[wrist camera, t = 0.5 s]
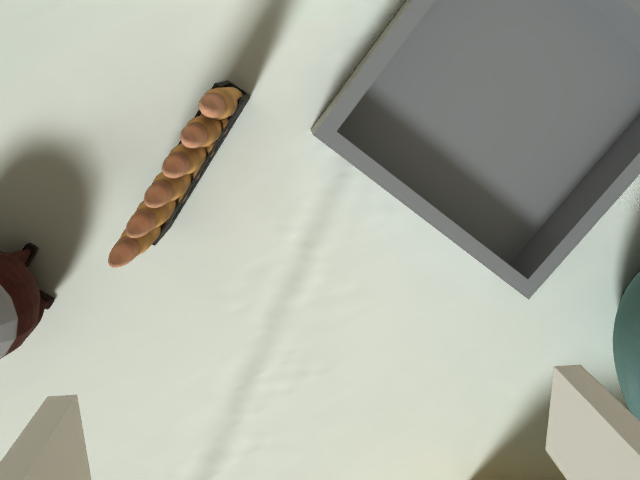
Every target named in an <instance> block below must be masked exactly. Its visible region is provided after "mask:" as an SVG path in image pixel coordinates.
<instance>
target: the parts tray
mask: <svg viewBox="0 0 640 480" xmlns="http://www.w3.org/2000/svg"><path fill="white" fill-rule="evenodd" d="M311 131H312V133H313V135H314V136H315V137H317V138H318V139H319V140H321V141H322V142H323V143H325V144H326V145H327V146H329V147H330V148H331V149H333V150H334V151H335V152H336V153H338V154H339V155H340V156H342V157H343V158H344V159H346V160H347V161H348V162H350V163H351V164H352V165H353V166H355V167H356V168H357V169H359V170H360V171H361V172H363V173H364V174H365V175H367V176H368V177H369V178H370V179H372V180H373V181H374V182H376V183H377V184H378V185H380V186H381V187H382V188H384V189H385V190H386V191H387V192H389V193H390V194H391V195H393V196H394V197H395V198H397V199H398V200H399V201H401V202H402V203H403V204H405V205H406V206H407V207H408V208H410V209H411V210H412V211H414V212H415V213H416V214H418V215H419V216H420V217H422V218H423V219H424V220H425V221H427V222H428V223H429V224H431V225H432V226H433V227H435V228H436V229H437V230H439V231H440V232H441V233H442V234H444V235H445V236H446V237H448V238H449V239H450V240H452V241H453V242H454V243H456V244H457V245H458V246H459V247H461V248H462V249H463V250H465V251H466V252H467V253H469V254H470V255H471V256H473V257H474V258H475V259H477V260H478V261H479V262H480V263H482V264H483V265H484V266H486V267H487V268H488V269H490V270H491V271H492V272H494V273H495V274H496V275H497V276H499V277H500V278H501V279H503V280H504V281H505V282H507V283H508V284H509V285H511V286H512V287H513V288H514V289H516V290H517V291H518V292H520V293H521V294H522V295H524V296H525V297H526V298H528V299H529V298H530V297H531V296H532V295H533V294H534V293H535V292H536V291H537V289H538V288H539V287H540V286H541V285H542V284H543V283H544V282H545V280H546V279H547V278H548V277H549V276H550V275H551V274H552V272H553V271H554V270H555V269H556V268H557V267H558V266H559V265H560V263H561V262H562V261H563V260H564V259H565V258H566V257H567V256H568V254H569V253H570V252H571V251H572V250H573V249H574V248H575V247H576V245H577V244H578V243H579V242H580V241H581V240H582V239H583V238H584V236H585V235H586V234H587V233H588V232H589V231H590V230H591V228H592V227H593V226H594V225H595V224H596V223H597V222H598V221H599V219H600V218H601V217H602V216H603V215H604V214H605V213H606V212H607V210H608V209H609V208H610V207H611V206H612V205H613V204H614V203H615V201H616V200H617V199H618V198H619V197H620V196H621V195H622V194H623V192H624V191H625V190H626V189H627V188H628V187H629V186H630V185H631V183H632V182H633V181H634V180H635V179H636V178H637V177H638V175H639V174H640V0H406V1H405V3H404V4H403V5H402V7H401V8H400V9H399V11H398V12H397V13H396V15H395V16H394V17H393V19H392V20H391V22H390V23H389V24H388V26H387V27H386V28H385V30H384V31H383V32H382V34H381V35H380V36H379V38H378V39H377V40H376V42H375V43H374V45H373V46H372V47H371V49H370V50H369V51H368V53H367V54H366V55H365V57H364V58H363V59H362V61H361V62H360V63H359V65H358V66H357V67H356V69H355V70H354V72H353V73H352V74H351V76H350V77H349V78H348V80H347V81H346V82H345V84H344V85H343V86H342V88H341V89H340V90H339V92H338V93H337V95H336V96H335V97H334V99H333V100H332V101H331V103H330V104H329V105H328V107H327V108H326V109H325V111H324V112H323V113H322V115H321V116H320V118H319V119H318V120H317V122H316V123H315V124H314V126H313V127H312V128H311Z"/></svg>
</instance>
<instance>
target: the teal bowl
mask: <svg viewBox="0 0 640 480" xmlns="http://www.w3.org/2000/svg"><path fill="white" fill-rule="evenodd" d="M613 353H614V361H615V367H616V372H617V376H618V380H619V383H620V387H621V390H622V393H623V395H624V398H625V401H626V403H627V406H628V408H629V410H630V412H631V413H632V414H633V415H634V416H635V417H636V418H637V419H638V420H639V421H640V272H639V273H638V274H637V275H636V276H635V277H634V278H633V280H632V281H631V282H630V284H629V285H628V287H627V288H626V290H625V292H624V294H623V296H622V299H621V301H620V304H619V307H618V310H617V314H616V318H615V323H614V332H613Z"/></svg>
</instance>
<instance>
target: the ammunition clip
mask: <svg viewBox="0 0 640 480" xmlns="http://www.w3.org/2000/svg"><path fill="white" fill-rule="evenodd" d="M249 99H250V95H249V94H247V93H246V92H244V91H243V90H241V89H240V88H238V87H237V86H235V85H234V84H232V83H231V82H229V81H228V80H227V81H224V82H219V83H215V84H214V85H213V87H212V89H211V90H209V91H208V92H207V93H206V94H205V95H204V96H203V97H202V98H201V100H200V102H199V111H198V112H197V114H196V116H195V117H194V118H193V119H192V120H190V121H189V122H188V124H187V126H186V127H185V128H184V129H183V130H182V132H181V136H180V139H181V141H180V143H179V144H178V145H177V146H176V147H175V148H173V149H172V151H171V152H170V154H169V156H168V157H167V158H166V159H165V161H164V162H163V165H162V172H161V173H160V174H159V175H157V176H156V178H155V179H154V181H153V183H152V185H151V186H150V187H149V188H148V189H147V191H146V193H145V196H144V201H143V202H141V203H140V205H139V206H138V208H137V211H136V212H135V213H134V215H132V217H131V218H130V220H129V221H128V223H127V226H126V229H125V230H124V232H123V233H122V235H121V238H120V239H119V240H118V242H117V243H116V244H115V245H114V247H113V248H112V250H111V252H110V254H109V259H108V263H109V265H110V266H111V267H121V266H124V265H126V264H127V263H129V262H130V261H132V260H133V259H134V258H135V257H136V256H138V255H139V254H141V253H143V252H145V251H146V250H147V249H148V248H149V247H150V246H151V245H156V244H157V243H158V242H159V240H160V239H161V238H162V237H163V236H164V235H165V233H166V232H167V231H168V230H169V229H170V228H171V226H172V224H173V223H174V221H175V219H176V218H177V216H178V214H179V213H180V211H181V210H182V208H183V206H184V205H185V203H186V201H187V200H188V198H189V197H190V195H191V193H192V192H193V190H194V188H195V187H196V185H197V183H198V182H199V180H200V179H201V177H202V175H203V174H204V172H205V170H206V169H207V167H208V166H209V164H210V162H211V161H212V159H213V157H214V156H215V154H216V153H217V151H218V149H219V148H220V146H221V144H222V143H223V141H224V139H225V138H226V136H227V135H228V133H229V131H230V130H231V128H232V126H233V125H234V123H235V122H236V120H237V118H238V117H239V115H240V113H241V112H242V110H243V108H244V107H245V105H246V104H247V102H248V100H249ZM201 113H202V114H203V115H201Z"/></svg>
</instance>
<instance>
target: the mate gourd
mask: <svg viewBox="0 0 640 480" xmlns="http://www.w3.org/2000/svg"><path fill="white" fill-rule="evenodd" d="M37 251H38V248H37V247H36V246H35V245H33V244H31V243H28V244H26V245H25V246H24V248H23V249H22V250H21V251H17V252H13V253H11V254H8V253H5V252H0V359H1V358H2V357H4V356H6V355H7V354H9V353H11V352H12V351H14V350H15V349H17V348H18V347H19V346H21V344H22V343H23V342H24V341H25V339H26V338H27V337H28V336H29V335H30V333H31V332H32V331H33V330H34V329H35V327H36V326H37V325H38V323H39V322H40V321H41V318H42V316H43V313H44V309H49V308H50V307H51V305H52V303H53V302H54V298H52V297H51V296H50V295H48V294H46V293H45V292H43V291H41V290H39V288H38V285H37V282H36V279H35V277H34V276H33V274H32V273H31V272H30V271H29V269H28V268H27V267H28V266H29V264H30V263H31V261H32V259H33V258H34V256H35V254H36V253H37Z"/></svg>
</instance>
